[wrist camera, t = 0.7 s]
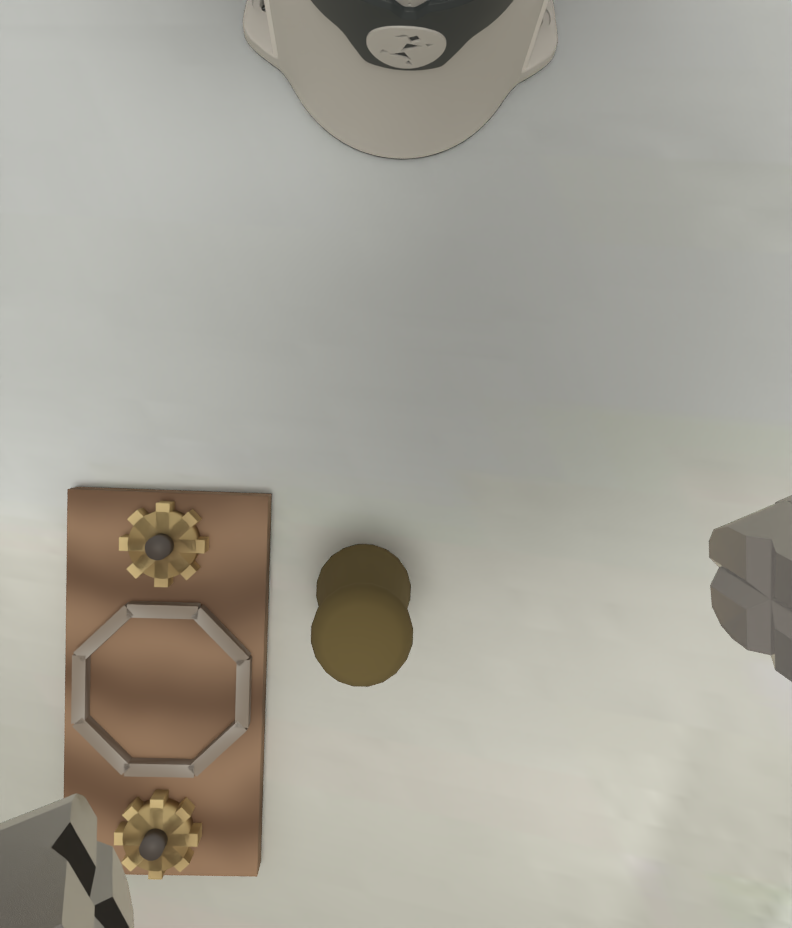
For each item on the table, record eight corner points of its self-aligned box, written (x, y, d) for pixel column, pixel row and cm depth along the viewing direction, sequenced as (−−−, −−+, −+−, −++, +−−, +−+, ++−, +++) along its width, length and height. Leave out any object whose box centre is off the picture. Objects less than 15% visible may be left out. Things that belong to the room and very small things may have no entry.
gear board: (77, 486, 45) (51, 492, 42) (271, 493, 46) (263, 500, 42) (72, 858, 47) (47, 896, 43) (260, 861, 47) (251, 899, 44)
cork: (322, 643, 46) (308, 712, 36) (310, 550, 46) (291, 591, 35) (416, 630, 47) (430, 696, 36) (404, 538, 46) (415, 575, 35)
